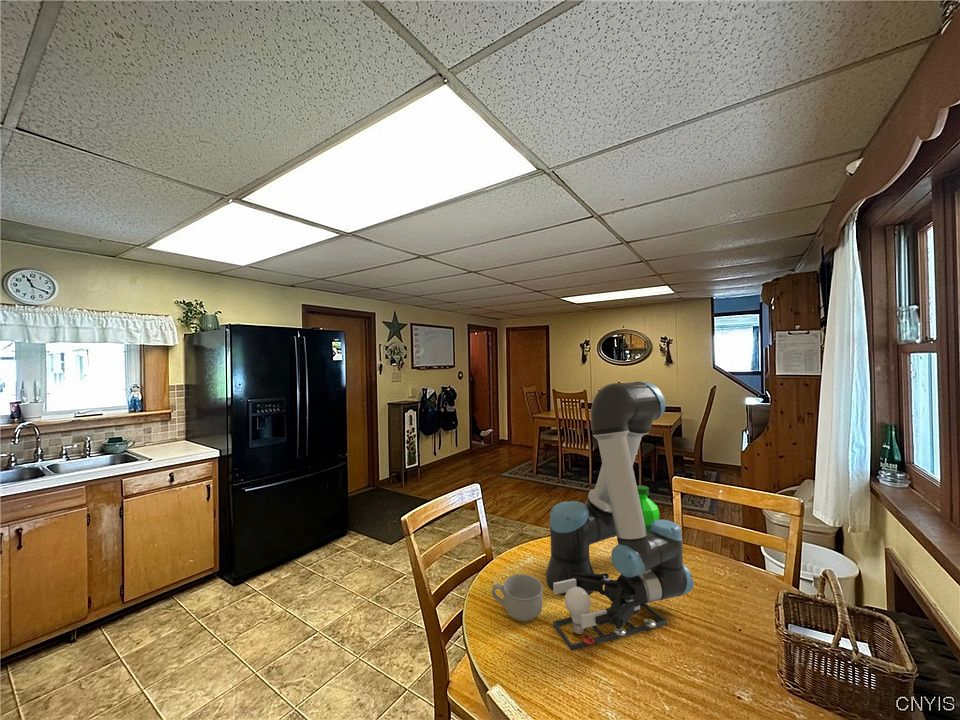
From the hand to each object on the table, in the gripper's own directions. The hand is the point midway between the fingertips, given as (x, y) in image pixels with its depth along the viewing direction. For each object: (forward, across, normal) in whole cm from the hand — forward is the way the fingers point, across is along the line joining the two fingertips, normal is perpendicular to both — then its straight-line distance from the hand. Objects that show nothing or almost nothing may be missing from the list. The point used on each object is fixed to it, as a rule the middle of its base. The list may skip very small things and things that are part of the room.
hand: (566, 604), depth 94 cm
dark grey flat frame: (-12, 0, -8) cm, 15 cm away
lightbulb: (-3, 0, -8) cm, 9 cm away
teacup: (+8, +12, -8) cm, 17 cm away
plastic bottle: (-43, +23, -8) cm, 49 cm away
